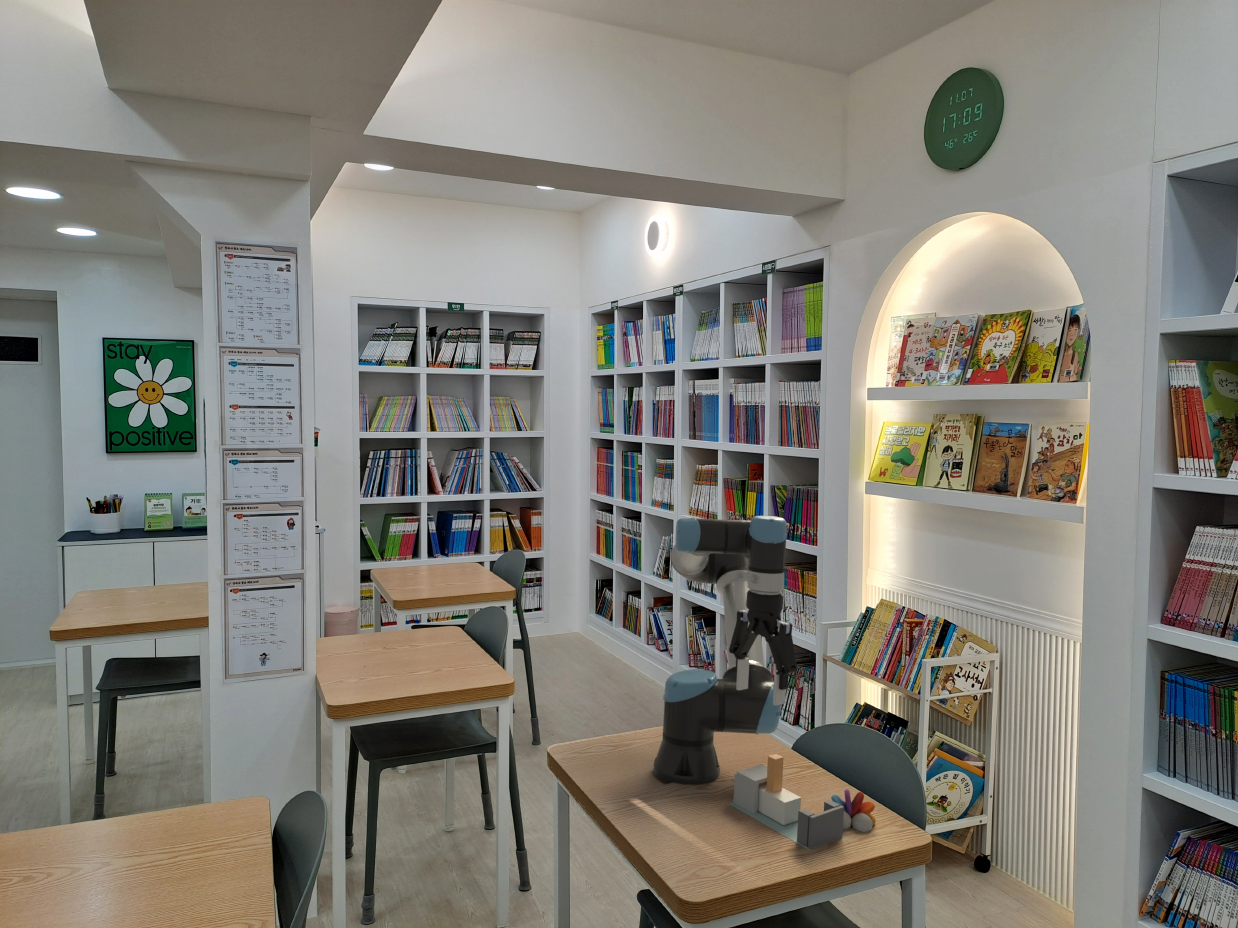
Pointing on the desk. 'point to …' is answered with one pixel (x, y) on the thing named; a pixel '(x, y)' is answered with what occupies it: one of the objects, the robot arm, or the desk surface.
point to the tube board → (809, 826)
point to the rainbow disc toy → (856, 812)
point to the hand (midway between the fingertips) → (760, 696)
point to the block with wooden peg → (777, 795)
